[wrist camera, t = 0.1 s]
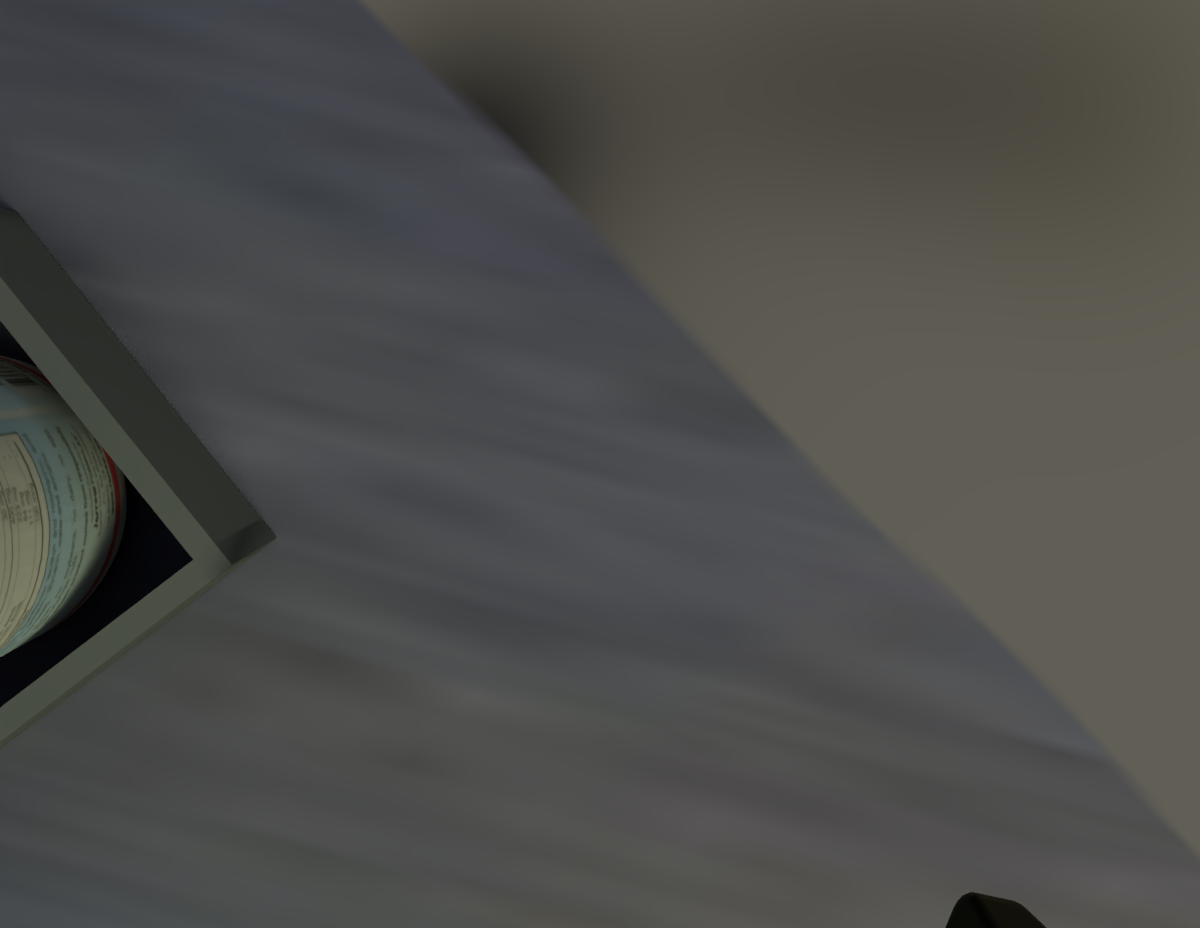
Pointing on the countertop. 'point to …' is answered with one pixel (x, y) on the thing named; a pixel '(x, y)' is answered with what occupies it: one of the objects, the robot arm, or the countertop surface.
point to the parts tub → (118, 458)
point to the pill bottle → (50, 507)
